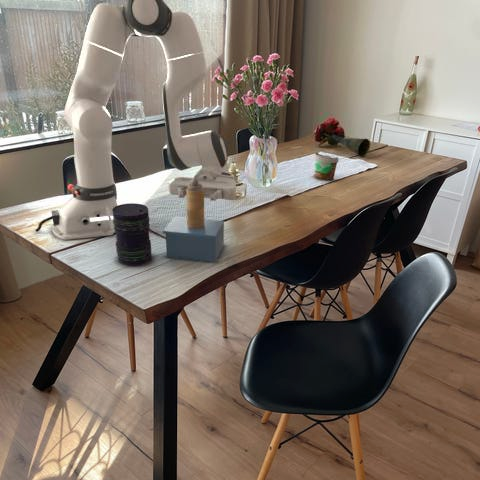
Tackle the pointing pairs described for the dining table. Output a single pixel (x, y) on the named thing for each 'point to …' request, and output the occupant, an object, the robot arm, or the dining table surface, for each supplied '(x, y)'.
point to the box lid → (180, 228)
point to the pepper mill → (195, 205)
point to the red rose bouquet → (340, 137)
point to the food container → (324, 167)
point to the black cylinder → (132, 234)
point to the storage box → (195, 247)
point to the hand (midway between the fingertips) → (196, 196)
